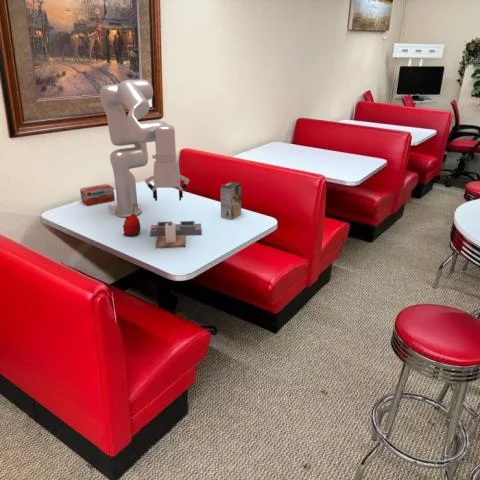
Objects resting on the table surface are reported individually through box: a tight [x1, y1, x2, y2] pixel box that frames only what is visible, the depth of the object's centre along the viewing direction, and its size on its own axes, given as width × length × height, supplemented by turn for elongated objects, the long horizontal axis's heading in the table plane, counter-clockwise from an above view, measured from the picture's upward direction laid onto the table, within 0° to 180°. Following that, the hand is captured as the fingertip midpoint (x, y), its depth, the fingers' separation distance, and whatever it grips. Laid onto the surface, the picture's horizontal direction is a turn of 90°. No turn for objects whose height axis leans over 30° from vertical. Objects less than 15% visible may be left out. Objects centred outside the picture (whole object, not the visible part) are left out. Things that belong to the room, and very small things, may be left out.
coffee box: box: [219, 181, 242, 221], centre depth 207 cm, size 9×6×16 cm
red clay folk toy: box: [122, 203, 141, 237], centre depth 186 cm, size 8×7×15 cm
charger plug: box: [165, 221, 176, 242], centre depth 180 cm, size 4×4×8 cm
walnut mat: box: [155, 235, 187, 249], centre depth 182 cm, size 12×10×1 cm
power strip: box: [149, 220, 202, 238], centre depth 191 cm, size 22×7×4 cm, turn 96°
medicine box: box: [79, 183, 115, 207], centre depth 226 cm, size 15×8×8 cm, turn 128°
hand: (168, 199), depth 174 cm, fingers open, 9 cm apart
